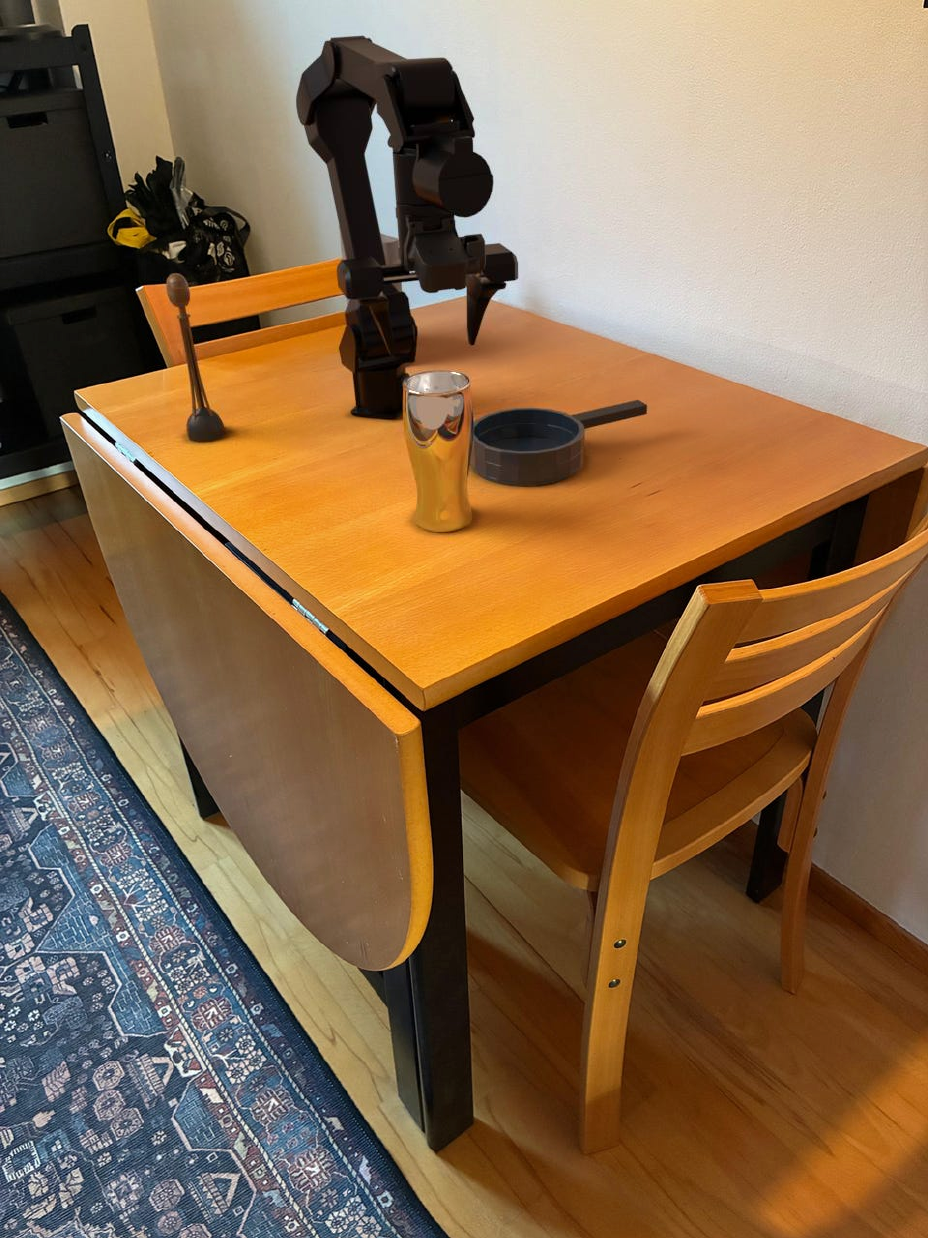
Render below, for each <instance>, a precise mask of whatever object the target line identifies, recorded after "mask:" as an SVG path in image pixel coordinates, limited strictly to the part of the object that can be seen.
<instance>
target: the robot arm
mask: <svg viewBox="0 0 928 1238" xmlns="http://www.w3.org/2000/svg"><path fill="white" fill-rule="evenodd" d="M320 53H321V54H320V55H319V56H318V57H317V58H316V59H315V60H314V61H313V62H312V63H310V65H309V66H308V67H307V68H306V69H305V70H304V71H302V73H301V76H300V79H299V83H298V87H297V91H296V96H295V108H296V114H297V118H298V120H299V122H300V123H299V124H300V125H301V126H303V128H304V131H305V136H306V140H307V143H308V145H309V146H310V147H311V148H312V150H313V151H314V153H316V155H318V157H319V158H320V159H321V160H322V161H323V162H324V164H325V165H326V168H327V173H328V178H329V183H330V189H331V192H332V196H333V201H334V206H335V211H336V216H337V221H338V227H339V226H340V230H341V235H342V240H343V245H344V249H345V254H346V259H347V260H343V259H341V260H340V261H339V262H338V264H337V266H336V277H337V278H336V279H337V286H338V289H340V291H341V292H342V294H343V295H344V297H345V298H346V300H347V299H349V302H348V305H347V304H346V305H347V306H346V307H345V308H346V309H345V311H344V316H345V323H346V326H345V328H344V332H343V334H342V337H341V340H340V343H339V346H338V351H339V356H340V360H341V364H342V366H344V367H345V368H346V369H347V370H348V371H349V372H351V374H352V383H353V392H354V393H353V394H354V401H355V403H354V404H355V405H354V407H353V408H352V409H351V410H350V414H351V415H352V416H360V417H368V418H369V417H370V418H380V419H388V420H389V419H391V420H395V419H398V418H399V416H401V415H402V414H403V382H404V380H405V379H406V378H408V377H409V376H410V373H408V372H407V371H406V365H405V363H407V364H413V363H415V361H416V356H417V344H418V334H419V330H418V325H417V324H416V321H415V319H414V317H413V316H412V312H411V306H410V299H409V296H408V295H407V293H405V291H403V290H402V292H399V291H398V290H397V288H396V287H395V286H394V285H393V284H392V283H401V282H402V283H407V282H416V281H418V283H419V287H420V289H421V290H422V291H423V292H424V293H427V294H437V293H438V292H440V291H448V290H455V291H462V290H464V289H466V336H467V343H468V344H469V346H471V347H473V346H475V344H476V341H477V339H478V335H479V332H480V329H481V326H482V322H483V319H484V317H485V313H486V310H487V308H488V306H489V303H490V301H491V300H492V298H493V297H494V296H495V295H496V294H497V292H498V291H501V290H505V289H506V287H507V282H513V281H515V282H516V281H517V280H519V261H518V257H517V255H516V254H515V253H514V252H513V251H512V250H510V249H509V248H508V247H506V246H504V245H503V244H502V243H500V242H495V243H487V244H486V240H485V238H484V236H483V234H482V233H478V234H477V233H475V234H465V235H463V236H459V233H458V231H457V227H456V226H457V225H456V219H455V217H458V218H464V219H465V218H471V217H473V216H475V215H478V214H479V213H481V211H483V209H484V208H485V207H486V206H487V205H488V203H489V201H490V199H491V197H492V193H493V190H494V175H493V173H492V170H491V167H490V165H489V164H488V162H487V160H486V159H485V158H484V156H482V155H481V154H479V153H477V152H476V151H474V139H475V137H476V131H475V128H474V121H475V117H474V115H473V112H472V110H471V107H470V104H469V103H468V100H467V98H466V95H465V93H464V91H463V89H462V85H461V82H460V78H459V77H458V76H459V75H458V74H457V73H456V71H455V70H454V67H453V65H452V64H451V62H450V61H449V59H447V58H446V57H420V58H407V57H404V56H402V55H400V54H397V53H396V52H394V51H391V50H389V49H387V48H385V47H383V46H382V45H380V44H379V45H378V44H377V43H374V42H373V40H372V39H371V37H366V36H365V35H352V36H351V35H350V36H349V35H348V36H338V37H336V36H335V37H330V39H329V40H325V41H324V43H323V46H322V49H321V52H320ZM375 108H376V114H377V115H378V116H379V117H380V118H381V119H382V121H383V123H384V125H385V127H386V129H387V131H388V134H389V137H388V139H387V142H386V143H387V146H388V147H389V148H390V149H391V151H392V165H393V176H394V177H393V179H394V194H395V207H394V209H395V218H396V222H397V233H398V234H397V238H398V240H399V248H398V252H399V259H400V264H391V265H386V260H385V255H384V250H383V245H382V240H381V235H380V233H381V230H380V225H379V221H378V220H379V219H378V215H377V210H376V205H375V200H374V196H373V195H374V194H373V190H372V184H371V180H370V176H369V171H368V164H367V160H366V150H367V148H368V146H369V145H368V144H369V142H370V139H371V135H372V133H373V129H374V127H373V126H374V125H373V118H372V116H373V113H374V111H375ZM340 230H339V231H340Z"/></svg>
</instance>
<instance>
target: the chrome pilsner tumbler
mask: <svg viewBox="0 0 928 1238" xmlns="http://www.w3.org/2000/svg"><path fill="white" fill-rule="evenodd" d="M472 398H473V396H472V390H471V380H470V378H469V376H467V375H466V374H464V373H462V372H458V371H453V370H447V369H446V370H443V369H442V370H441V369H440V370H439V369H435V370H426V371H420V372H417V373H414V374H411V375H409V377H408V378H406V379H405V380H404V382H403V412H402V421H403V432H404V433H403V434H404V439H405V444H406V450H407V454H408V457H409V458H408V459H409V462H410V465H411V468H412V472H413V476H414V481H415V486H416V505H415V511H414V512H415V513H414V521H415V523H416V525H417V526H418V527H420V528H421V529H422V530H425V531H428V532H434V533H448V532H449V533H450V532H454V531H458V530H461V529H463V528H466V527H467V526H468V525H470V523H471V522H472V520H473V511H472V507H471V503H470V499H469V491H468V480H469V479H468V478H469V472H470V466H471V465H470V459H471V452H472V444H473V433H474V421H475V420H474V408H473V399H472Z"/></svg>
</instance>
